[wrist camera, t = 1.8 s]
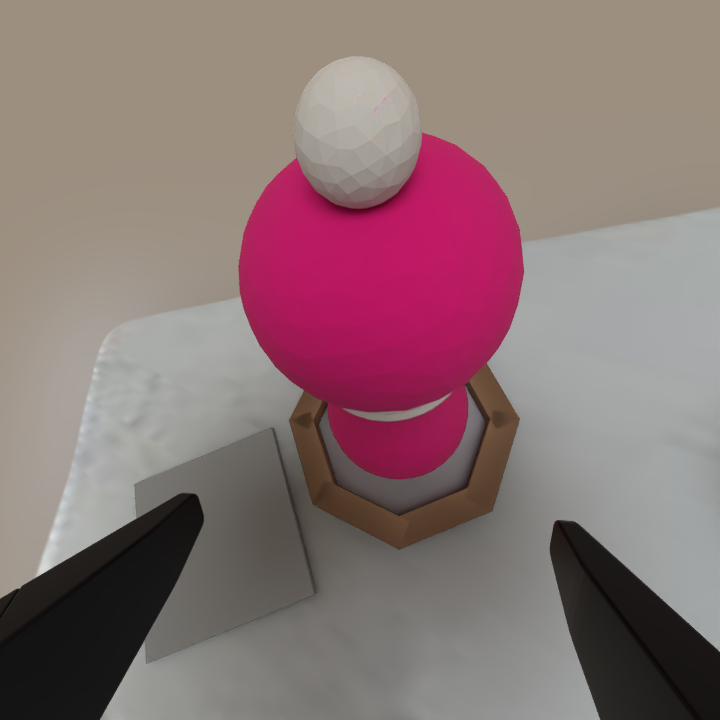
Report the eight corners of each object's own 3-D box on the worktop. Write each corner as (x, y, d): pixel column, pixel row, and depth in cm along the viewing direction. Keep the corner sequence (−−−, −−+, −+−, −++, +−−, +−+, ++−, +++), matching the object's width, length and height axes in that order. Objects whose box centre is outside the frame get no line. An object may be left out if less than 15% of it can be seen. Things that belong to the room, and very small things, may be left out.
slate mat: (316, 593, 20) (314, 594, 19) (151, 660, 20) (146, 663, 19) (273, 428, 24) (271, 427, 23) (138, 484, 24) (134, 484, 24)
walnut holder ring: (551, 485, 20) (558, 484, 19) (338, 573, 20) (333, 576, 19) (447, 307, 25) (448, 298, 24) (281, 376, 25) (274, 370, 24)
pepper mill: (346, 371, 24) (146, -34, 6) (453, 370, 23) (609, -123, 5) (341, 481, 22) (-58, 362, 3) (461, 485, 21) (880, 336, 2)
